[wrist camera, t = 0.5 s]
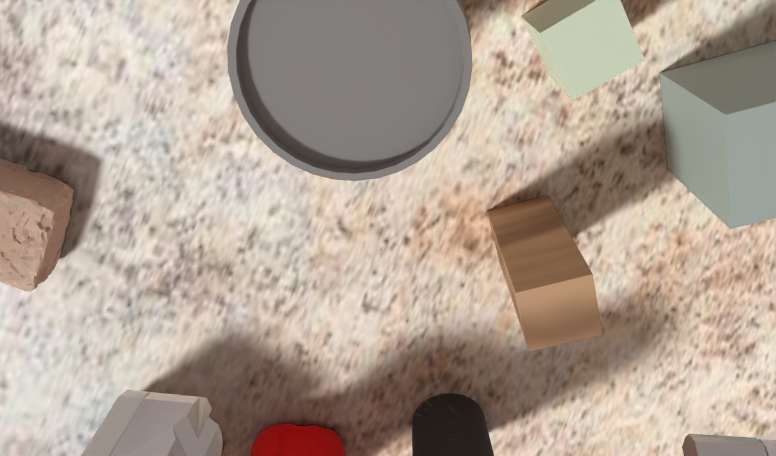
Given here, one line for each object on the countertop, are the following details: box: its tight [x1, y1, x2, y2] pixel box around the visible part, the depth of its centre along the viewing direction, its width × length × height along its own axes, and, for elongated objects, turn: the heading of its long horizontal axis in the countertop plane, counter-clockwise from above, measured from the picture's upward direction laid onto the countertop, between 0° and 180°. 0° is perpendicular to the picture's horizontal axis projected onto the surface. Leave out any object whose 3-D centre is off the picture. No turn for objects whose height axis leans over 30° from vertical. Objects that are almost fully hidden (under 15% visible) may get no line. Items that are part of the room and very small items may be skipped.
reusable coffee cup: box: [227, 0, 472, 181], centre depth 38 cm, size 13×13×15 cm
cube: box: [521, 0, 645, 100], centre depth 42 cm, size 5×5×6 cm
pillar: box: [487, 195, 602, 352], centre depth 47 cm, size 5×5×12 cm
